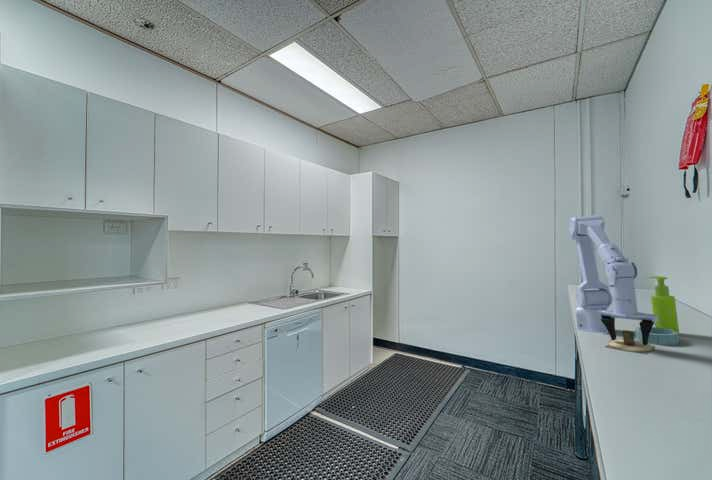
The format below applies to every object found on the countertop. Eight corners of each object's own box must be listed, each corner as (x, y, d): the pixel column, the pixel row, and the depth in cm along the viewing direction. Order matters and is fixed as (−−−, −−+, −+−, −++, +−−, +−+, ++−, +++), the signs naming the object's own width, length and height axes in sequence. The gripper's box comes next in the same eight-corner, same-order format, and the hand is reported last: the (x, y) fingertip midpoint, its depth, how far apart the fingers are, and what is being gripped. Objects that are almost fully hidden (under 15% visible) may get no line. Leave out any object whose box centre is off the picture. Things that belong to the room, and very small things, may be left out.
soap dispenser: (665, 330, 109) (659, 275, 110) (684, 335, 102) (677, 276, 103) (648, 331, 110) (641, 276, 111) (665, 336, 103) (658, 278, 104)
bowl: (632, 342, 101) (631, 331, 101) (641, 335, 106) (640, 325, 106) (674, 348, 93) (673, 336, 93) (681, 340, 98) (680, 330, 98)
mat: (604, 348, 97) (604, 347, 97) (615, 341, 103) (615, 339, 103) (646, 355, 89) (646, 354, 89) (655, 347, 95) (655, 346, 95)
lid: (603, 347, 97) (601, 332, 97) (614, 339, 103) (612, 325, 103) (647, 354, 89) (645, 338, 89) (656, 346, 95) (654, 330, 95)
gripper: (591, 299, 100) (596, 340, 100) (651, 303, 88) (657, 349, 88) (599, 295, 104) (604, 335, 104) (657, 299, 92) (663, 344, 92)
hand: (629, 341), depth 96 cm, fingers open, 7 cm apart
